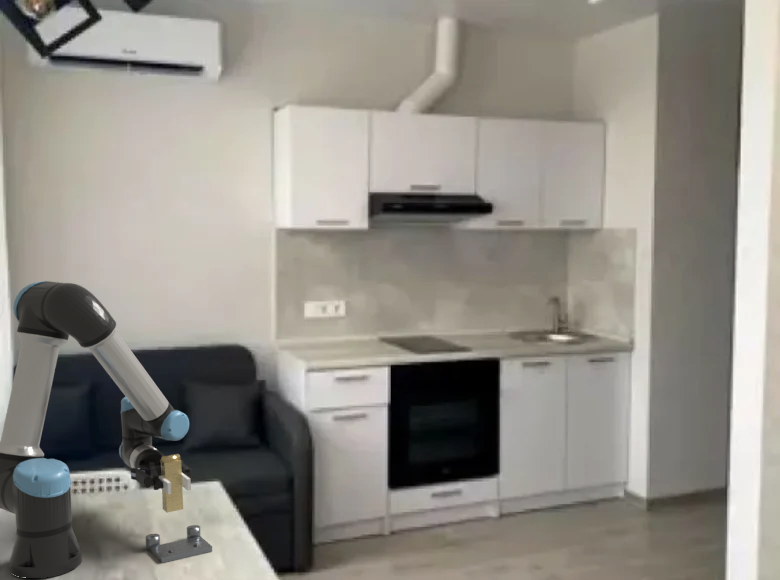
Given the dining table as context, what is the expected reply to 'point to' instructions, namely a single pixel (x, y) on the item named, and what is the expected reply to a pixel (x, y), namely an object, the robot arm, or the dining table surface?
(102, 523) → the dining table surface
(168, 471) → the brass rectangular post
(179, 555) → the fixed leaf
